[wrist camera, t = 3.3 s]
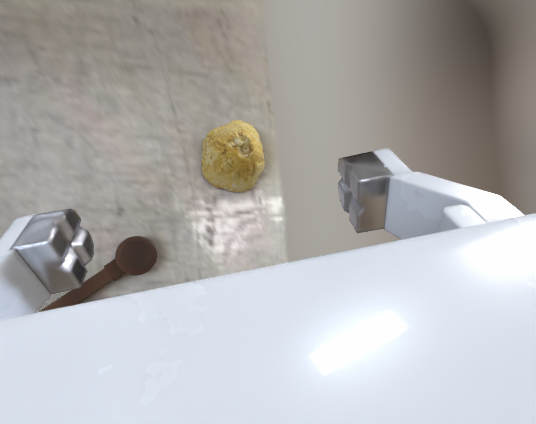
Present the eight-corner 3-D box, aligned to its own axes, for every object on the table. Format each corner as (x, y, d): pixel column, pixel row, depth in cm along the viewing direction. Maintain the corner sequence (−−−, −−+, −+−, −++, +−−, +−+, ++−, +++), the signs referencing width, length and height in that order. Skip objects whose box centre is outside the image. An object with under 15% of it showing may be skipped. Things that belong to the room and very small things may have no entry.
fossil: (214, 106, 46) (280, 125, 49) (207, 111, 51) (267, 128, 55) (197, 186, 47) (264, 199, 50) (192, 182, 52) (253, 194, 56)
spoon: (29, 352, 41) (25, 356, 40) (2, 319, 41) (-4, 321, 39) (163, 259, 48) (164, 259, 46) (142, 229, 47) (142, 228, 46)
